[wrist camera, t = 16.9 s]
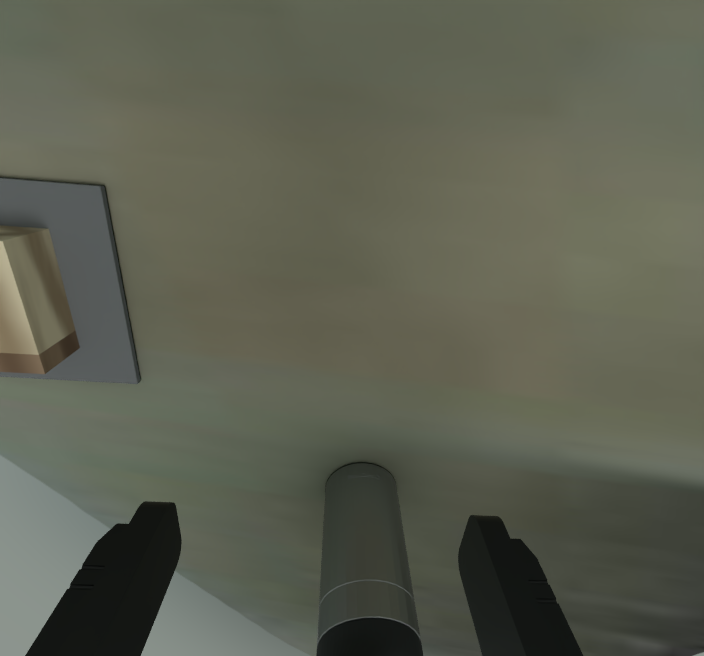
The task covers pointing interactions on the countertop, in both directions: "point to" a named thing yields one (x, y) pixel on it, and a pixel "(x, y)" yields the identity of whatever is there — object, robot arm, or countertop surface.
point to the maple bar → (32, 303)
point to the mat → (79, 274)
